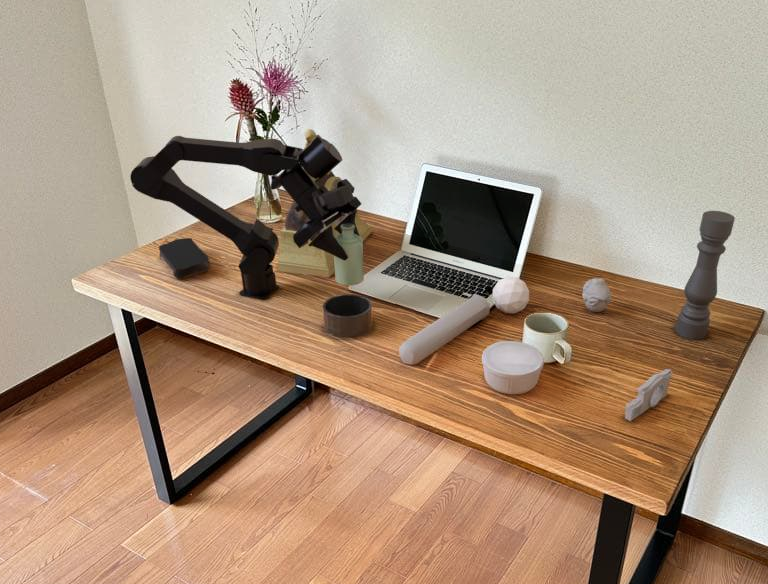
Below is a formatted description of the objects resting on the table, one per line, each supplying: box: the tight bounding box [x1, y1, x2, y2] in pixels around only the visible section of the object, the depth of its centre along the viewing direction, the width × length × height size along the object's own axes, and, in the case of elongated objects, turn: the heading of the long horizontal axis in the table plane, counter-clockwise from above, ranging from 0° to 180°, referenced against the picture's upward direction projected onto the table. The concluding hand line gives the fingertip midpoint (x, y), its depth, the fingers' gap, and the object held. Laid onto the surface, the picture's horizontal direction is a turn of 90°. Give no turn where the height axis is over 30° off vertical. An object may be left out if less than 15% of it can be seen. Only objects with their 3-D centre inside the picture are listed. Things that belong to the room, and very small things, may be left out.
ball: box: [492, 276, 530, 314], centre depth 154 cm, size 8×8×8 cm
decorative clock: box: [276, 128, 372, 278], centre depth 172 cm, size 28×13×30 cm, turn 164°
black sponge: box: [158, 237, 211, 280], centre depth 171 cm, size 16×8×4 cm, turn 33°
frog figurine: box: [581, 277, 612, 313], centre depth 155 cm, size 6×7×7 cm
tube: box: [397, 293, 491, 366], centre depth 144 cm, size 5×5×25 cm
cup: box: [321, 293, 373, 339], centre depth 148 cm, size 10×10×5 cm
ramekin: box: [481, 340, 545, 395], centre depth 132 cm, size 11×11×5 cm
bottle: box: [334, 223, 365, 286], centre depth 151 cm, size 6×6×12 cm
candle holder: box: [674, 210, 736, 340], centre depth 143 cm, size 6×6×25 cm
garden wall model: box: [624, 368, 674, 422], centre depth 125 cm, size 12×2×6 cm, turn 133°
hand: (354, 253), depth 151 cm, fingers closed on bottle, 6 cm apart
